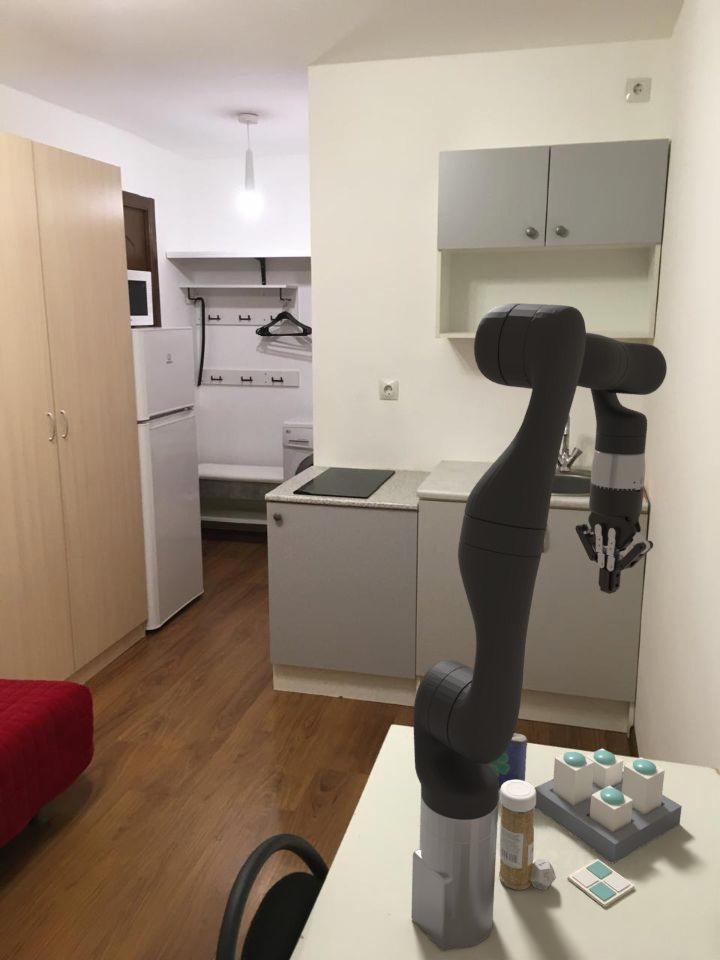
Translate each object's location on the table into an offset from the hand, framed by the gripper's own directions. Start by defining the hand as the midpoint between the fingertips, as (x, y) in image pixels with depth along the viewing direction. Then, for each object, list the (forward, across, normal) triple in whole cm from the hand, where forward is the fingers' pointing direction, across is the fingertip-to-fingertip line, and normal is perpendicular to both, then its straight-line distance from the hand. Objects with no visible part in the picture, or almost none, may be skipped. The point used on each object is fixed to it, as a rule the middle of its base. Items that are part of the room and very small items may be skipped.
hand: (608, 591), depth 116 cm
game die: (+32, +12, -25) cm, 42 cm away
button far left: (+32, +4, -3) cm, 32 cm away
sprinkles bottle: (+32, +9, -27) cm, 43 cm away
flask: (+32, -8, -14) cm, 36 cm away
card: (+32, +16, -18) cm, 40 cm away
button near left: (+30, +4, -10) cm, 31 cm away
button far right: (+30, +10, -3) cm, 31 cm away
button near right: (+32, +10, -9) cm, 35 cm away
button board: (+32, +7, -6) cm, 33 cm away
